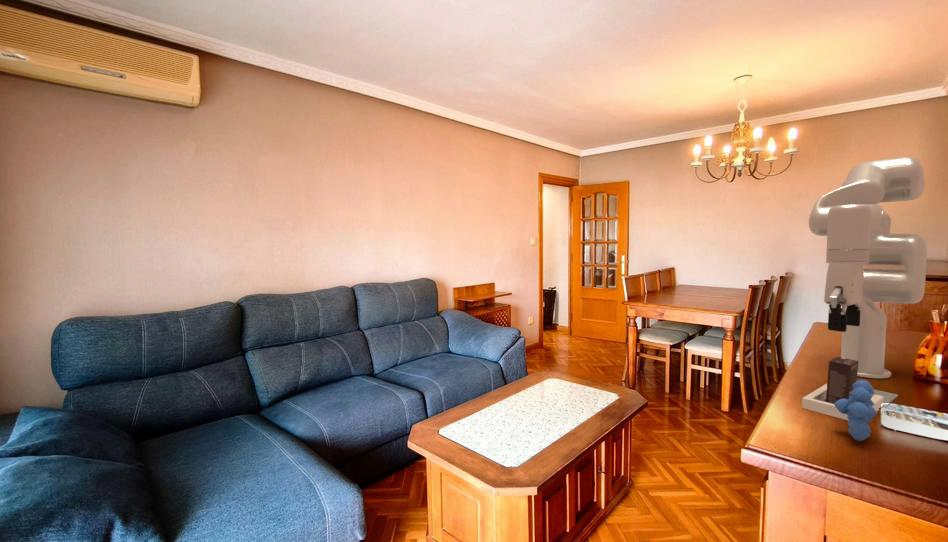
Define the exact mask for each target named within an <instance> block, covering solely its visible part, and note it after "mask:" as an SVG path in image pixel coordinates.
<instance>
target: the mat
mask: <svg viewBox="0 0 948 542" xmlns="http://www.w3.org/2000/svg"><path fill="white" fill-rule="evenodd" d="M873 391H874V392H875V393H874V394H872V395H871V396H872V397H873V396H874V395H879V396H884V399H883V403H890V404H891V403H892V402H893V401H895V399H897V398H898V397H899V394H896V393H892V392H888V391H883V390H878V389H874V390H873Z"/></svg>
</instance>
